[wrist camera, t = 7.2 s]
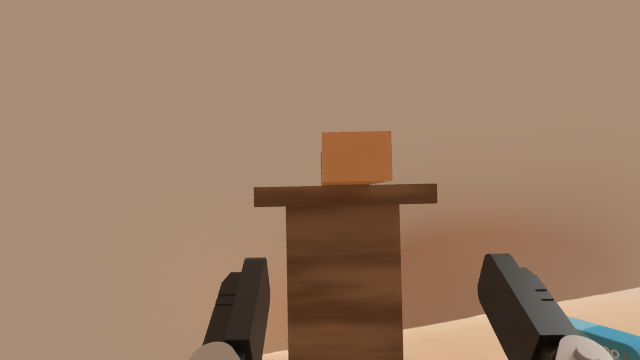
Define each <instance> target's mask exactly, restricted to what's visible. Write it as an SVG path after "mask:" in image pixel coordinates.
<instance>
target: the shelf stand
mask: <svg viewBox="0 0 640 360" xmlns="http://www.w3.org/2000/svg"><path fill="white" fill-rule="evenodd" d="M425 203H426V204H427V203H437V184H398V185H347V186H301V187H254V207H277V206H279V207H280V206H286V239H287V240H286V241H287V298H288V353H289V360H403V330H402V296H401V295H402V293H401V255H400V215H399V204H425Z"/></svg>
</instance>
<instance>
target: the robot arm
mask: <svg viewBox="0 0 640 360" xmlns="http://www.w3.org/2000/svg"><path fill="white" fill-rule="evenodd" d="M478 297H479V301H480V303H481V305H482V307H483V309H484V311H485V313H486V315H487V317H488V319H489V321H490V324H491V326H492V328H493V330H494V332H495V334H496V336H497V338H498V340H499V342H500V344H501V346H502V348H503V350H504V352H505V354H506V356H507V358H508V360H620V359H616V358H613V357H612V356H611V355H610V354H609V352H608V351H607V350H606V349H605V348H603V347H602V346H601V345H599V344H598V343H596V342H595V341H593V340H591V339H589V338H586V337H583V336H581V335H580V334H579V333H578V331H577V330H576V328H575V327H574V326H573V324H572V323H571V322H570V320H569V319H568V317H567V316H566V315H565V313H564V312H563V311H562V309H561V308H560V306H559V305H558V304H557V302H556V301H554V298H553V297H552V295H551V294H550V293H549V291H547V289H546V287H545V286H544V284H543V283H542V282H541V281H540V279H539V278H538V277H537V276H536V275H534V274H533V273H532V272H531V271H529V270H528V269H527V268H519V266H518V265H517V263H516V262H515V260H514V259H513V257H512V256H511V255H510V254H507V253H506V254H487V255H485V257H484V261H483V266H482V269H481V274H480V278H479V282H478ZM269 305H270V286H269V277H268V269H267V260H266V258H246V259H245V261H244V264H243V268H242V272H231V273H230V274H229V275H228V276H227V277H226V279H225V280H224V281H223V282H222V284H221V287H220V290H219V294H218V297H217V300H216V304H215V307H214V310H213V313H212V316H211V320H210V323H209V326H208V329H207V333H206V336H205V339H204V342H203V345H202V346H201V347H200V348H198V349H197V350H196V351H195V352H194V353H193V354H192V356H191V357H190V359H189V360H262V354H263V346H264V339H265V333H266V326H267V319H268V312H269Z"/></svg>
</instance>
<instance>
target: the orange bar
mask: <svg viewBox="0 0 640 360" xmlns="http://www.w3.org/2000/svg"><path fill="white" fill-rule="evenodd" d="M321 170H322V171H321V174H322V186H347V185H369V184H373V183H380V182H387V181H392V149H391V131H376V132H330V133H322V152H321Z"/></svg>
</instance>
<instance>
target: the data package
mask: <svg viewBox="0 0 640 360" xmlns="http://www.w3.org/2000/svg"><path fill="white" fill-rule="evenodd" d="M568 319H569V320H570V322H571V323H572V324H573V326H574V327H575V328H576V330H577V331H578V333H579V334H580V335H581V336H583V337H586V338H589V339H591V340H593V341H595V342H596V343H598V344H599V345H601V346H602V347H603V348H605V349H606V350H607V351H608V352H609V354H610V355H611V356H612V357H613V358H616V359H620V360H640V336H636V335H633V334H629V333H626V332H622V331H619V330H615V329H611V328H608V327H604V326H601V325H597V324H594V323H590V322H587V321H583V320H580V319H576V318H572V317H568Z"/></svg>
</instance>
